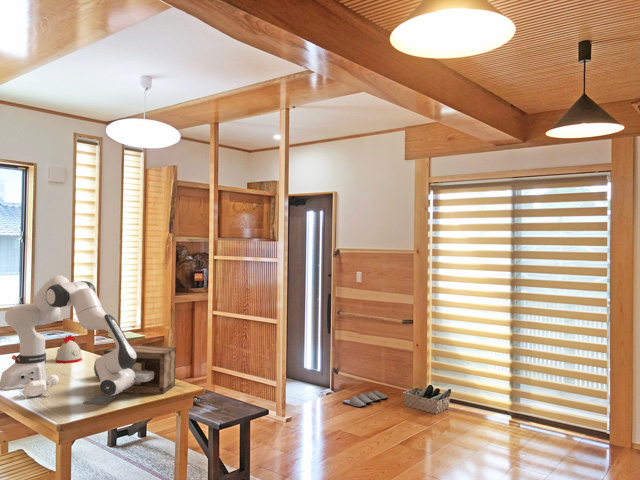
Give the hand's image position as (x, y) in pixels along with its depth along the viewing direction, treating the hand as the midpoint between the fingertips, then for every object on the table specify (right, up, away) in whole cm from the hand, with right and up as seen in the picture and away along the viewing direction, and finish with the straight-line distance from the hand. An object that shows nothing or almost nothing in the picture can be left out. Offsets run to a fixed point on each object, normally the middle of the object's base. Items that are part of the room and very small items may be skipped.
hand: (138, 371), depth 249 cm
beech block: (0, -5, -1) cm, 6 cm away
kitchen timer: (-60, -8, +54) cm, 81 cm away
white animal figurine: (-40, -8, -15) cm, 43 cm away
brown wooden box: (0, -8, +1) cm, 9 cm away
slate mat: (-10, -8, -20) cm, 24 cm away
